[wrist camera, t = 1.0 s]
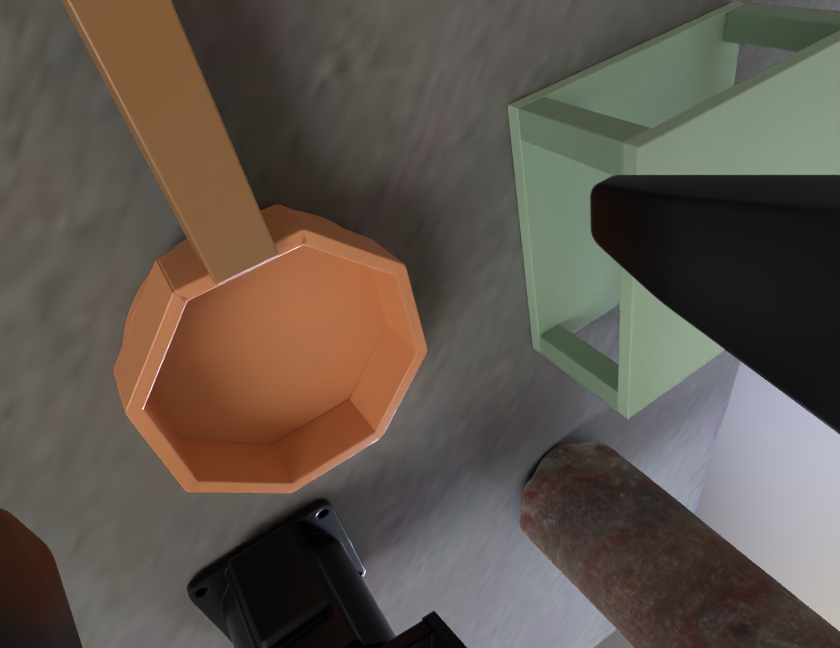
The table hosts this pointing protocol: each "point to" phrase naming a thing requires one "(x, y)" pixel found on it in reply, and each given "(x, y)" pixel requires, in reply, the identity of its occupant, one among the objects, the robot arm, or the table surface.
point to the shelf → (660, 173)
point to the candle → (656, 560)
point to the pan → (243, 291)
